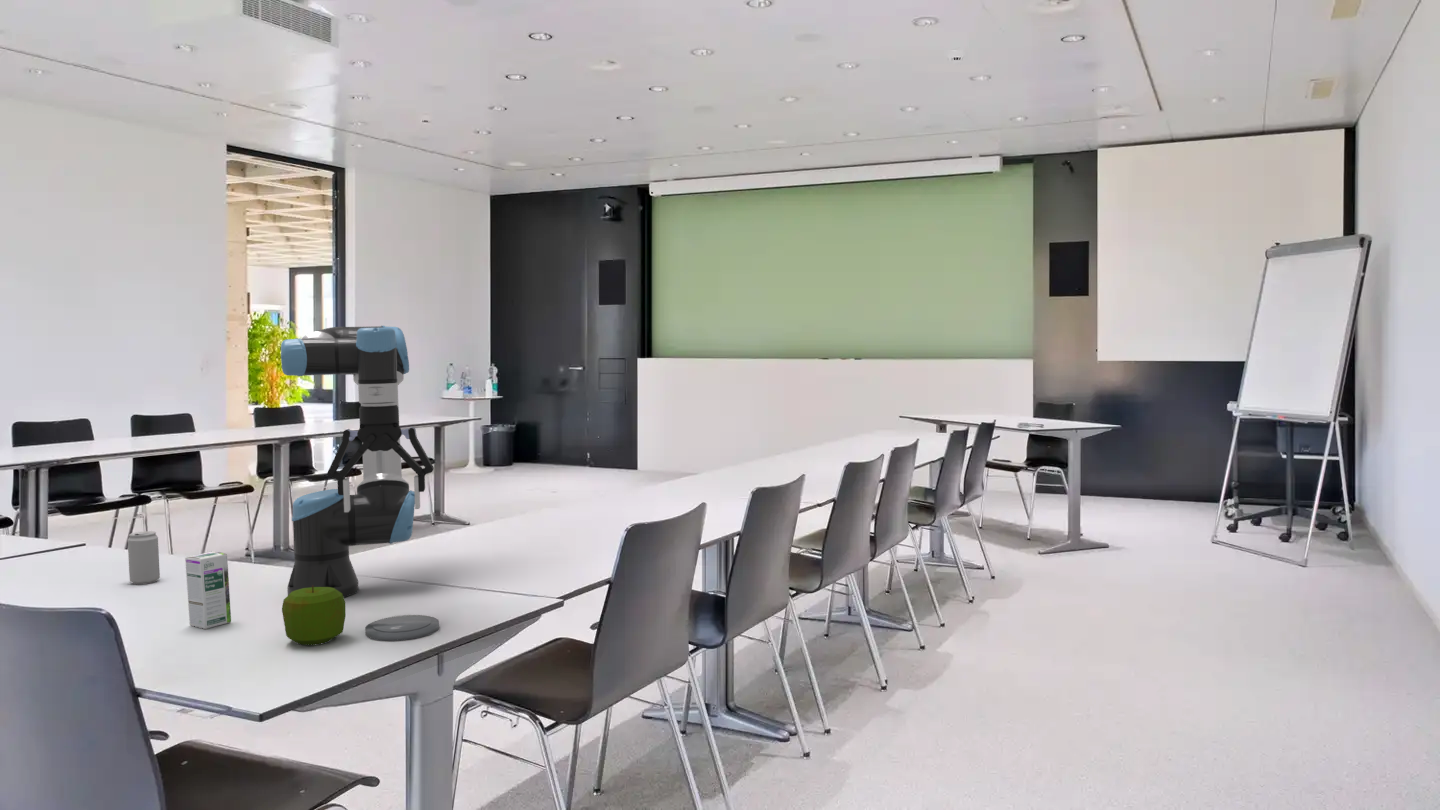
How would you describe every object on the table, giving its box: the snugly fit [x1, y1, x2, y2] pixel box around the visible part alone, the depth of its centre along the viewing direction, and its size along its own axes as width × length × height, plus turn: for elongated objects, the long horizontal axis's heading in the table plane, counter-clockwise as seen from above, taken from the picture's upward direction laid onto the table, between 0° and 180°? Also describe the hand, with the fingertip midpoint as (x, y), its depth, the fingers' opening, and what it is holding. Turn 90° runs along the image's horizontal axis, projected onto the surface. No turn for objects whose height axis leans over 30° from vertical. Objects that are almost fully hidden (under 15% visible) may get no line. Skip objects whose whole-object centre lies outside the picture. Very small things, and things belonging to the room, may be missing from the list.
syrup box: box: [184, 550, 232, 630], centre depth 211 cm, size 6×6×14 cm
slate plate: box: [364, 614, 440, 642], centre depth 204 cm, size 14×14×2 cm
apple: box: [281, 586, 346, 646], centre depth 198 cm, size 11×11×11 cm
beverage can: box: [127, 530, 161, 586], centre depth 249 cm, size 6×6×12 cm
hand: (382, 509), depth 208 cm, fingers open, 13 cm apart
